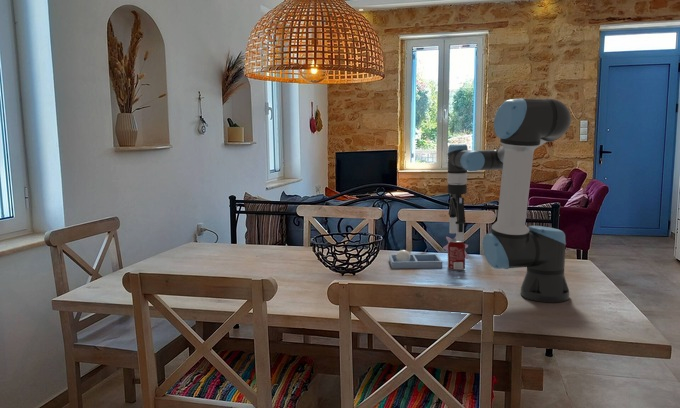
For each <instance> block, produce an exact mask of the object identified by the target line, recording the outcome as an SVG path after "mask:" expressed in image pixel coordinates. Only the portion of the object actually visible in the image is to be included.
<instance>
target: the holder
mask: <svg viewBox="0 0 680 408" xmlns="http://www.w3.org/2000/svg"><path fill="white" fill-rule="evenodd" d="M396 255H397V254H389V256H388V259H389V263H390V266H391V269H441V268H443V260H442V259H441V258H440V256H439V254H437V253H431V254H430V253H425V254H424V253H423V254H417V253H415V254H410V257H411V258H410V261H409V262H398V261H397V259H396Z"/></svg>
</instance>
